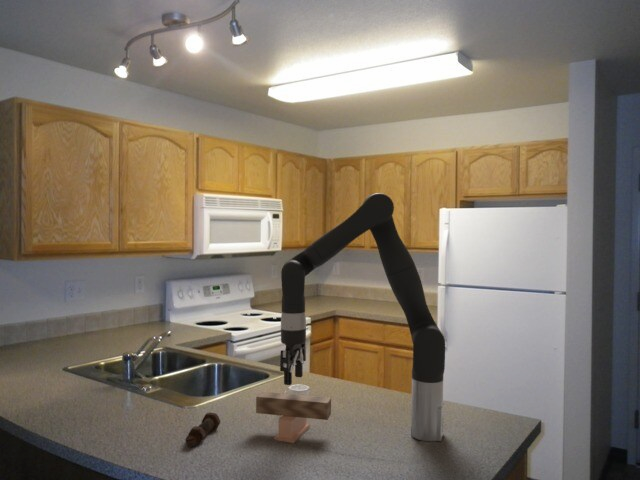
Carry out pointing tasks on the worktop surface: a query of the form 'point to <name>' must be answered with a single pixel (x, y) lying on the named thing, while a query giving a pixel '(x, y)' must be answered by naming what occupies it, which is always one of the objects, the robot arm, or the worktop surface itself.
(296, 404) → the walnut bar
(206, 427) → the bolt
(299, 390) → the cup
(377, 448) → the worktop surface
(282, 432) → the ridge
